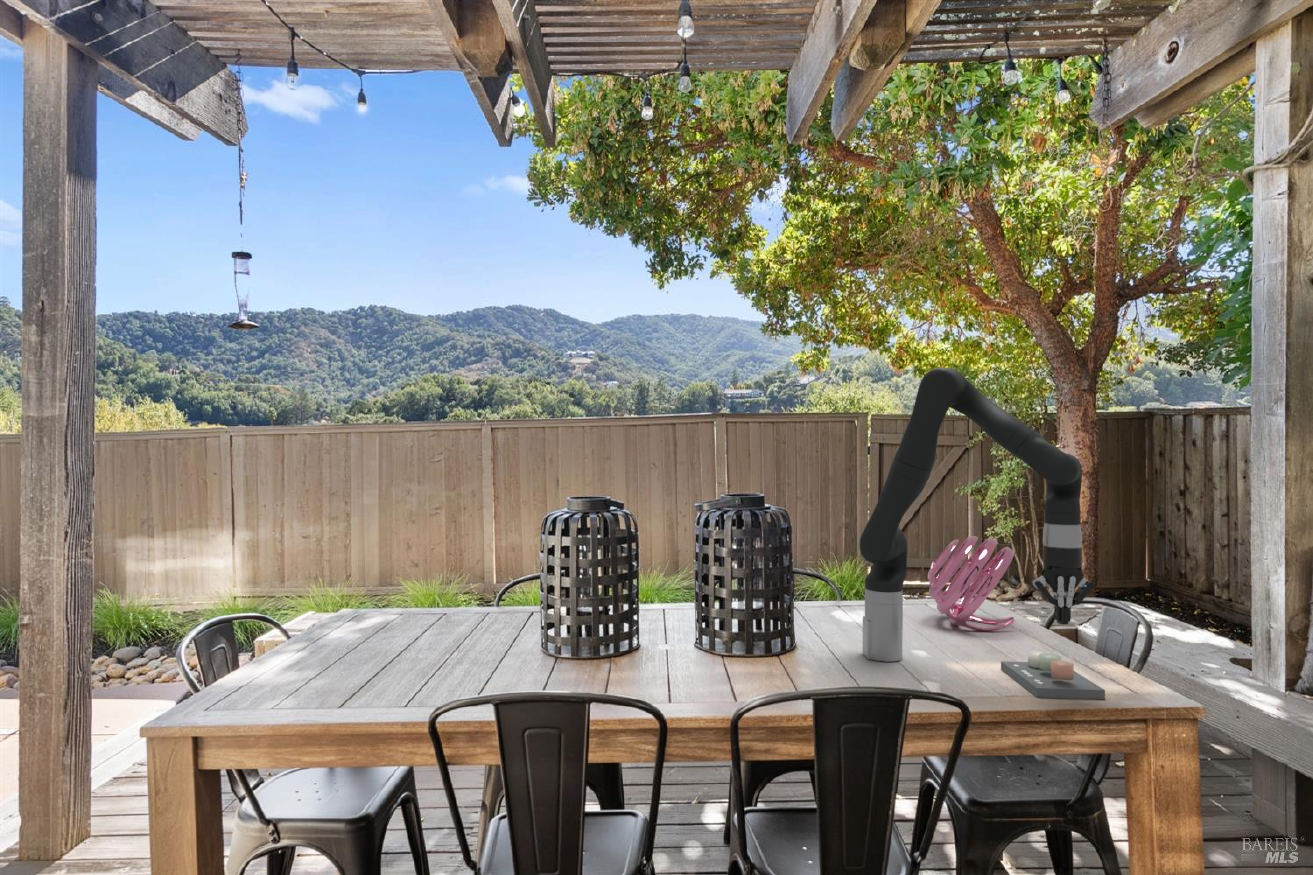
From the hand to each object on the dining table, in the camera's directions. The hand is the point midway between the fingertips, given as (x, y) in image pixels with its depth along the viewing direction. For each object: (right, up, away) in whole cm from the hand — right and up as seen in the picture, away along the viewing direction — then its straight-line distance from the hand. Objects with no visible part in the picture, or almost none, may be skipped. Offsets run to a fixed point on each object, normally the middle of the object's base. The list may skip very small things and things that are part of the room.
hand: (1062, 623), depth 165 cm
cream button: (+1, -13, +12) cm, 18 cm away
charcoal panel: (0, -15, +6) cm, 16 cm away
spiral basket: (+5, -16, +61) cm, 63 cm away
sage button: (0, -12, +6) cm, 13 cm away
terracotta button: (0, -12, 0) cm, 12 cm away
